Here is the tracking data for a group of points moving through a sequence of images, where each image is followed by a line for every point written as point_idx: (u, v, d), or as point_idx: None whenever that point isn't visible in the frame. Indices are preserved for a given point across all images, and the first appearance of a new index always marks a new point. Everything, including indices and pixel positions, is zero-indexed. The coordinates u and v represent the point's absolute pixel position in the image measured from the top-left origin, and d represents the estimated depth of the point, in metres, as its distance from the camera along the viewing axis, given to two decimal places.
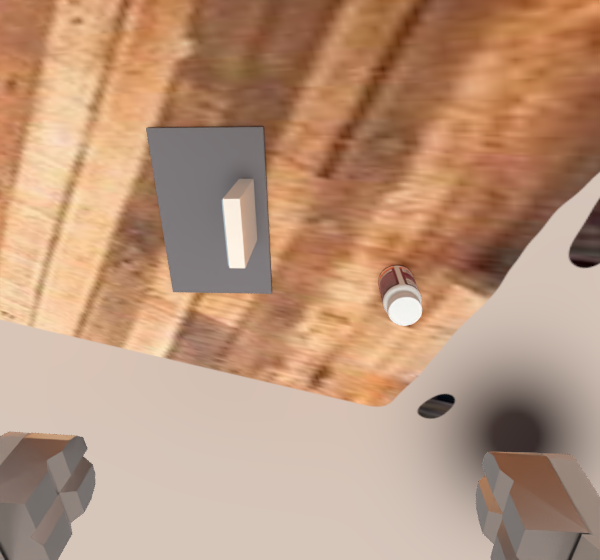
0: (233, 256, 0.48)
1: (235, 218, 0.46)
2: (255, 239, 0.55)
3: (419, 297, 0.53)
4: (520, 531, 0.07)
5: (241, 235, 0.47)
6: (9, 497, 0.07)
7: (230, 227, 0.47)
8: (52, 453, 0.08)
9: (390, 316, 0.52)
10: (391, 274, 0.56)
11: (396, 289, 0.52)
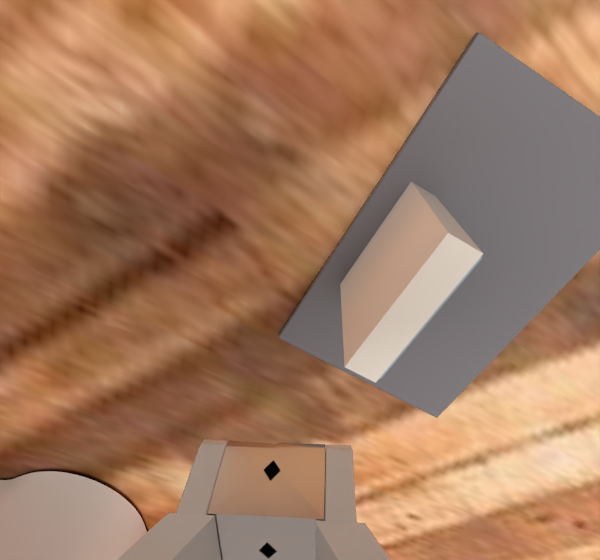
0: (450, 273, 0.19)
1: (381, 341, 0.20)
2: (409, 195, 0.25)
3: None
4: None
5: (395, 305, 0.19)
6: (244, 509, 0.07)
7: (404, 331, 0.20)
8: (264, 462, 0.08)
9: None
10: None
11: None
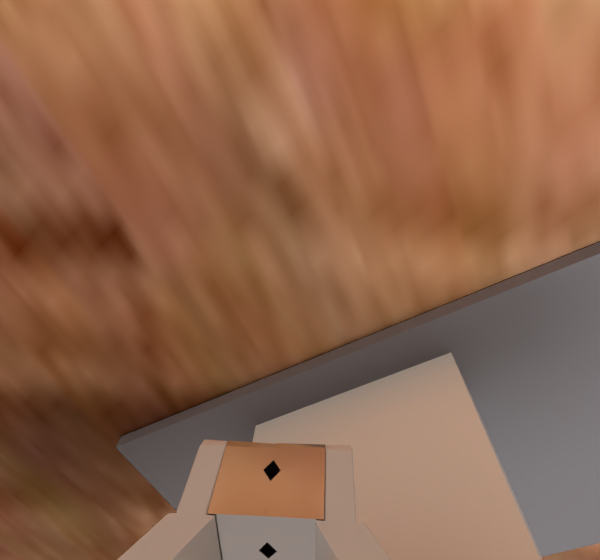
0: None
1: None
2: (445, 385, 0.14)
3: None
4: None
5: None
6: (244, 509, 0.07)
7: None
8: (264, 462, 0.08)
9: None
10: None
11: None
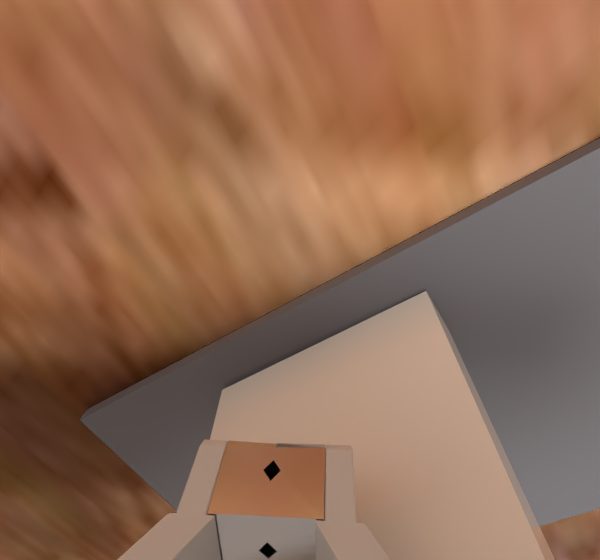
0: None
1: None
2: (419, 326, 0.12)
3: None
4: None
5: None
6: (244, 509, 0.07)
7: None
8: (264, 462, 0.08)
9: None
10: None
11: None
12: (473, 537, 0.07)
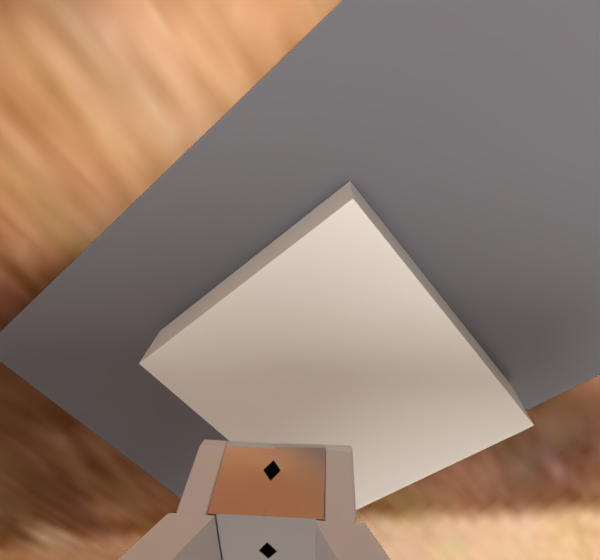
0: None
1: None
2: (369, 256, 0.11)
3: None
4: None
5: None
6: (244, 509, 0.07)
7: None
8: (264, 462, 0.08)
9: None
10: None
11: None
12: (476, 405, 0.13)
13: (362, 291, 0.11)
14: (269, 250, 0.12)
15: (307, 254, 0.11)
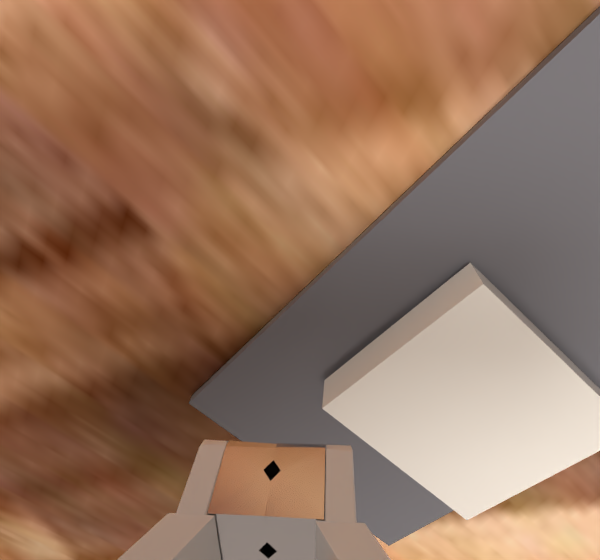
0: None
1: None
2: (496, 320, 0.15)
3: None
4: None
5: None
6: (244, 509, 0.07)
7: None
8: (264, 462, 0.08)
9: None
10: None
11: None
12: (587, 419, 0.17)
13: (492, 344, 0.16)
14: (413, 318, 0.17)
15: (450, 323, 0.15)
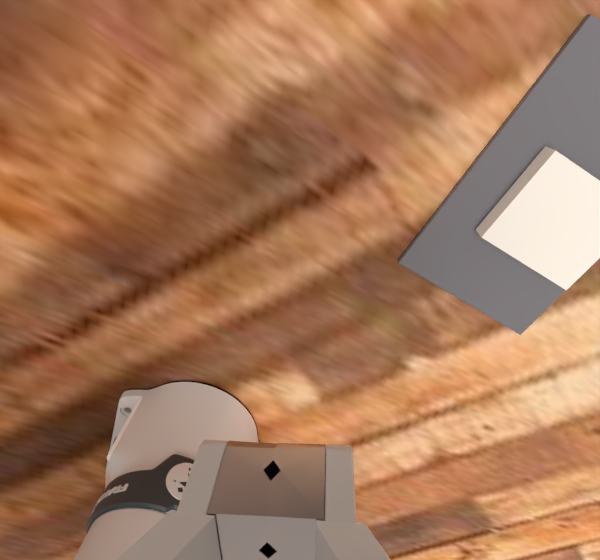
0: None
1: None
2: (564, 167, 0.32)
3: None
4: None
5: None
6: (244, 509, 0.07)
7: None
8: (264, 462, 0.08)
9: None
10: None
11: None
12: None
13: (564, 180, 0.33)
14: (521, 180, 0.34)
15: (542, 174, 0.33)
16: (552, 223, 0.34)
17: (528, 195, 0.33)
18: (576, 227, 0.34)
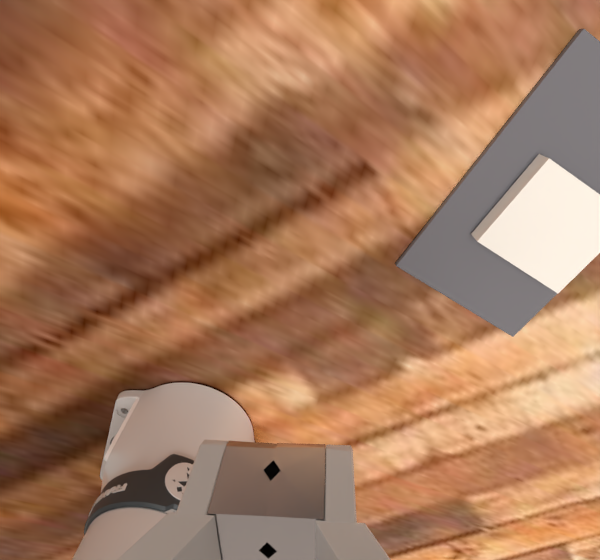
0: None
1: None
2: (557, 174, 0.33)
3: None
4: None
5: (594, 256, 0.36)
6: (244, 509, 0.07)
7: None
8: (264, 462, 0.08)
9: None
10: None
11: None
12: None
13: (557, 187, 0.34)
14: (515, 186, 0.35)
15: (536, 181, 0.34)
16: (545, 228, 0.35)
17: (522, 201, 0.34)
18: (568, 232, 0.35)
